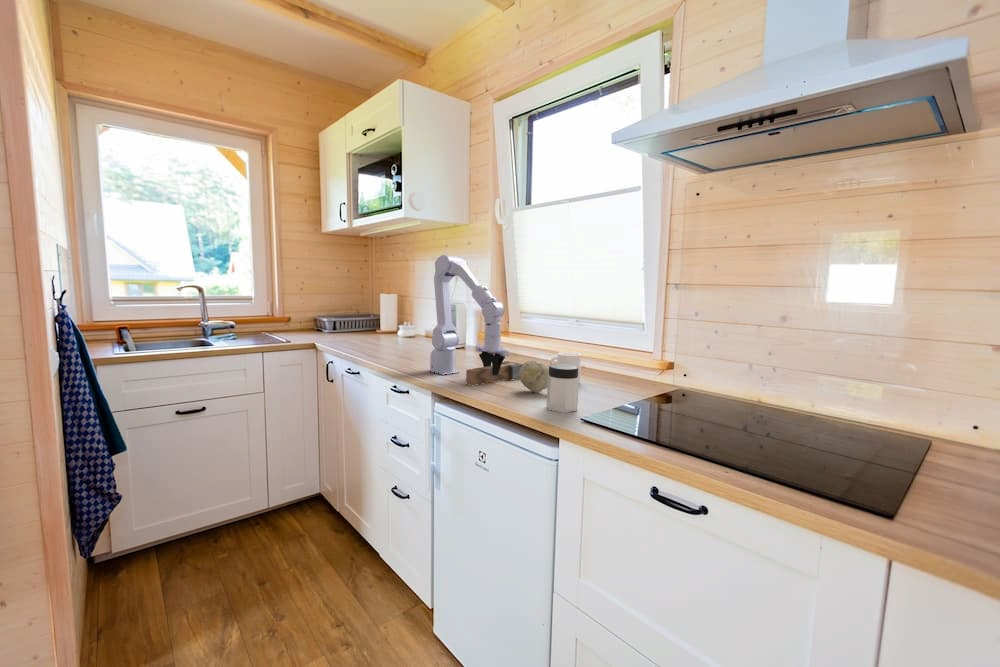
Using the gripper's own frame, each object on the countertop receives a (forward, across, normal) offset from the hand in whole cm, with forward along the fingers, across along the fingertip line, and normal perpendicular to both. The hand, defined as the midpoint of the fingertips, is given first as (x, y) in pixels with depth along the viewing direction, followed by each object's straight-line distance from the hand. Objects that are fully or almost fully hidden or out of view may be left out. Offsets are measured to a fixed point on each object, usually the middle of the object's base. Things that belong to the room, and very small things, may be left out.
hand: (491, 373), depth 157 cm
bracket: (+2, 0, +9) cm, 9 cm away
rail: (+2, 0, 0) cm, 3 cm away
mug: (+3, +17, +20) cm, 26 cm away
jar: (+3, +38, -10) cm, 39 cm away
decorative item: (+3, +21, -1) cm, 21 cm away
